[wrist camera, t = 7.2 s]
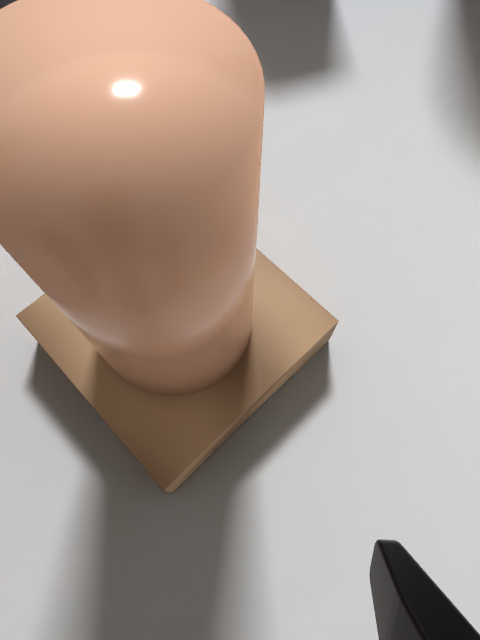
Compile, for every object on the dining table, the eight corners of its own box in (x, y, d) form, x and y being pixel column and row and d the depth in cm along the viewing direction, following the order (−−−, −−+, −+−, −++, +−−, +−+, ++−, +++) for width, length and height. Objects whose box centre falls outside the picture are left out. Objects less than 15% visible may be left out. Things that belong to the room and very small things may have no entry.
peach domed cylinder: (190, 428, 18) (112, 302, 7) (68, 338, 20) (-153, 120, 9) (281, 304, 20) (328, 59, 9) (164, 231, 22) (84, -56, 11)
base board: (172, 492, 20) (163, 490, 17) (39, 335, 23) (15, 315, 20) (328, 340, 22) (338, 320, 20) (192, 216, 25) (186, 186, 23)
